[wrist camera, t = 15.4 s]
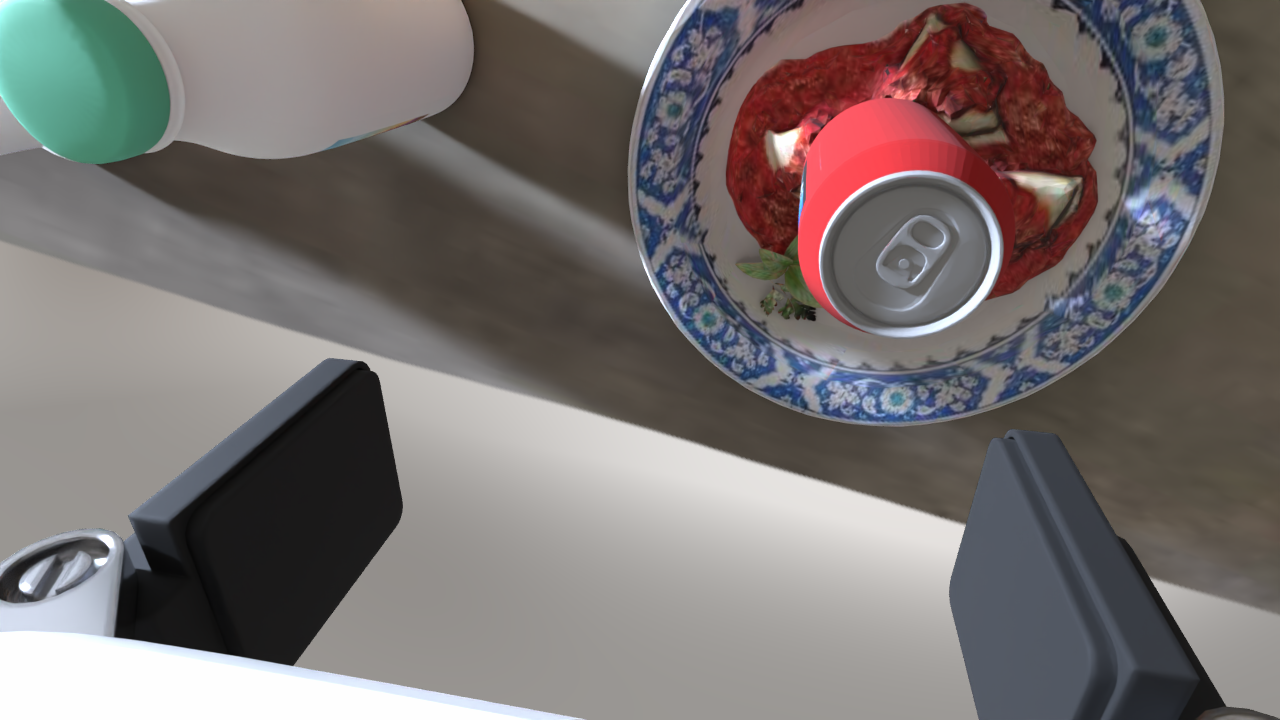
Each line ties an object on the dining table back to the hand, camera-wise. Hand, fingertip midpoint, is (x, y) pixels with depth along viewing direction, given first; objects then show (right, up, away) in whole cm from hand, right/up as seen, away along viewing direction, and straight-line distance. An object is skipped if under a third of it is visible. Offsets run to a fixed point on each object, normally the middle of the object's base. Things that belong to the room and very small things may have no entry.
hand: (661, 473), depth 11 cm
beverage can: (+10, +10, +21) cm, 26 cm away
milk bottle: (-12, +19, +26) cm, 34 cm away
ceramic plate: (+12, +11, +24) cm, 29 cm away
